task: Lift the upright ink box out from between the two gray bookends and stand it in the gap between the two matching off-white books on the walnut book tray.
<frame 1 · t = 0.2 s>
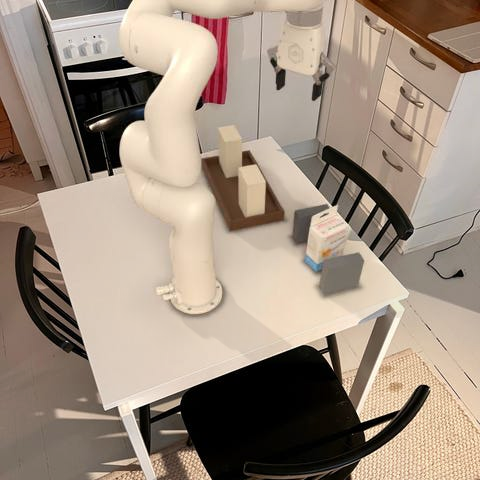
hand: (297, 93, 121), 31 cm above the table, tool pointing down, fingers open, 9 cm apart
book tray: (240, 192, 148), on the table
gray bookends: (323, 260, 129), on the table
ink box: (323, 261, 129), on the table
white books: (240, 171, 142), in the book tray, point 7 cm above the table
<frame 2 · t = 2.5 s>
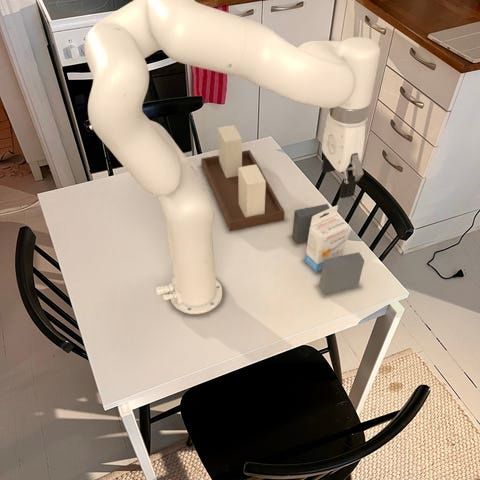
hand: (337, 183, 111), 23 cm above the table, tool pointing down, fingers open, 9 cm apart
nothing on the table moved.
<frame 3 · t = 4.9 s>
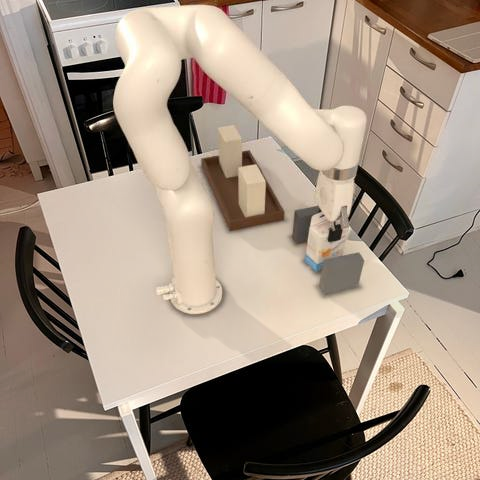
hand: (328, 231, 121), 10 cm above the table, tool pointing down, fingers closed on ink box, 6 cm apart
ink box: (323, 261, 129), on the table, touching gripper
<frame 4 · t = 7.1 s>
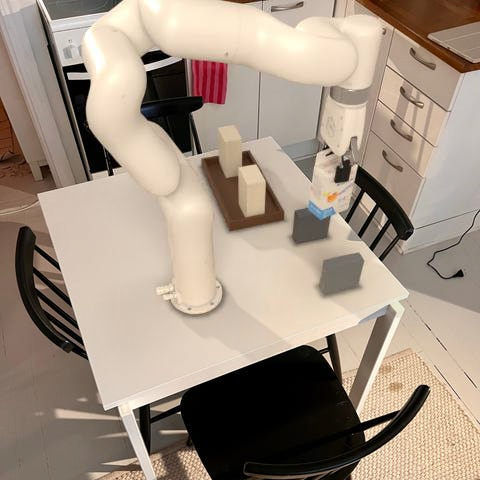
hand: (335, 172, 109), 26 cm above the table, tool pointing down, fingers closed on ink box, 6 cm apart
ink box: (328, 210, 117), point 16 cm above the table, touching gripper
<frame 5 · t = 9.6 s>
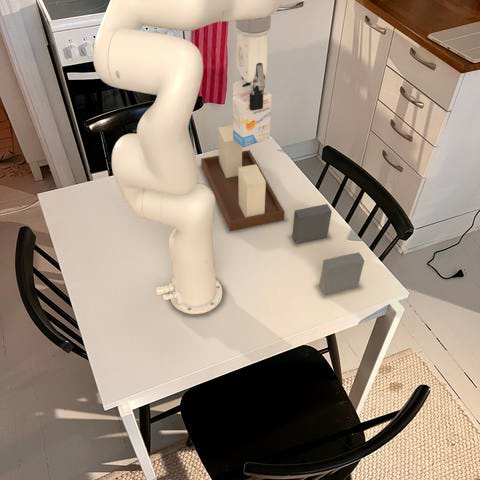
hand: (252, 101, 122), 29 cm above the table, tool pointing down, fingers closed on ink box, 6 cm apart
ink box: (251, 139, 130), point 19 cm above the table, touching gripper
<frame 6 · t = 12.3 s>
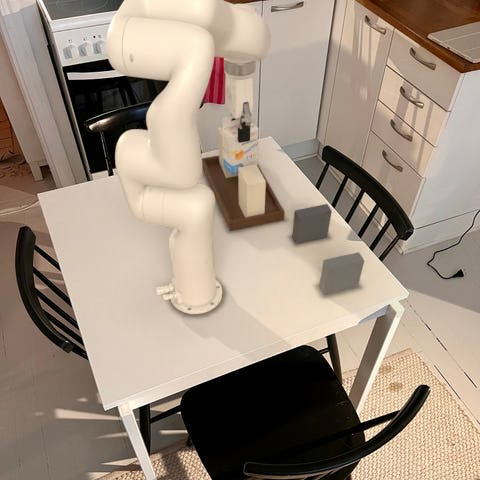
hand: (240, 134, 133), 19 cm above the table, tool pointing down, fingers closed on ink box, 6 cm apart
ink box: (240, 167, 141), point 8 cm above the table, touching gripper
when the fingers open (11 cm above the table, at t = 14.6 s): ink box stays where it is, resting on book tray.
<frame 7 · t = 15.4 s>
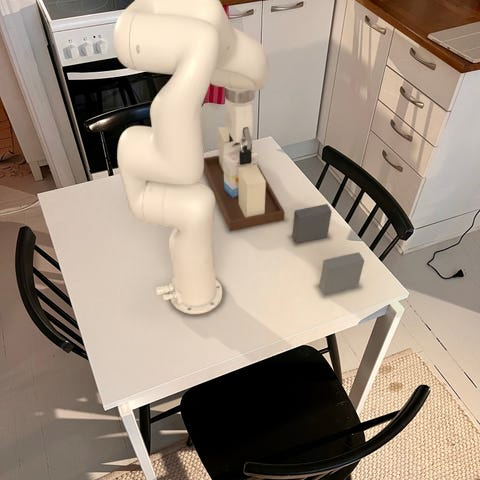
hand: (240, 153, 138), 13 cm above the table, tool pointing down, fingers open, 9 cm apart
ink box: (240, 189, 147), point 1 cm above the table, touching book tray
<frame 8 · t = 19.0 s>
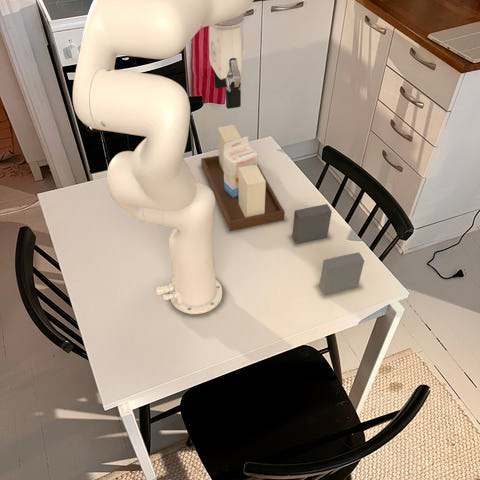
hand: (227, 96, 114), 34 cm above the table, tool pointing down, fingers open, 9 cm apart
nothing on the table moved.
at the end: ink box 0.0 cm off-centre in the book tray, point 0.8 cm above the book tray's base; ink box tilted 0°; the gripper is holding nothing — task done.
